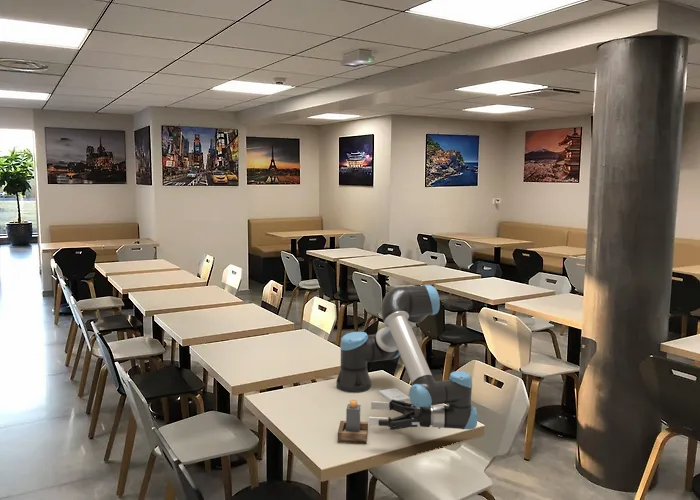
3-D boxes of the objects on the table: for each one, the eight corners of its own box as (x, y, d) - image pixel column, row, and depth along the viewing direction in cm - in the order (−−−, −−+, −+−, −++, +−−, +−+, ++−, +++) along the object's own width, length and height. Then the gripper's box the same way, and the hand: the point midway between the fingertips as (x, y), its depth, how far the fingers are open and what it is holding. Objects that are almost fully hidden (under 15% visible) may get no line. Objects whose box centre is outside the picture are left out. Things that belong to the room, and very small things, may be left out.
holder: (368, 431, 205) (368, 422, 205) (366, 443, 195) (366, 434, 195) (340, 429, 206) (340, 420, 205) (337, 442, 196) (337, 432, 196)
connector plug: (360, 431, 202) (360, 399, 201) (358, 437, 198) (359, 404, 196) (347, 430, 203) (347, 398, 201) (346, 436, 198) (346, 403, 197)
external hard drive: (395, 391, 245) (411, 401, 234) (379, 394, 242) (394, 404, 231) (395, 387, 245) (411, 397, 234) (379, 390, 242) (394, 400, 231)
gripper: (432, 442, 185) (367, 439, 187) (429, 411, 209) (371, 409, 211) (433, 420, 184) (367, 417, 186) (429, 392, 209) (372, 389, 211)
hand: (369, 412), depth 199 cm, fingers open, 13 cm apart
